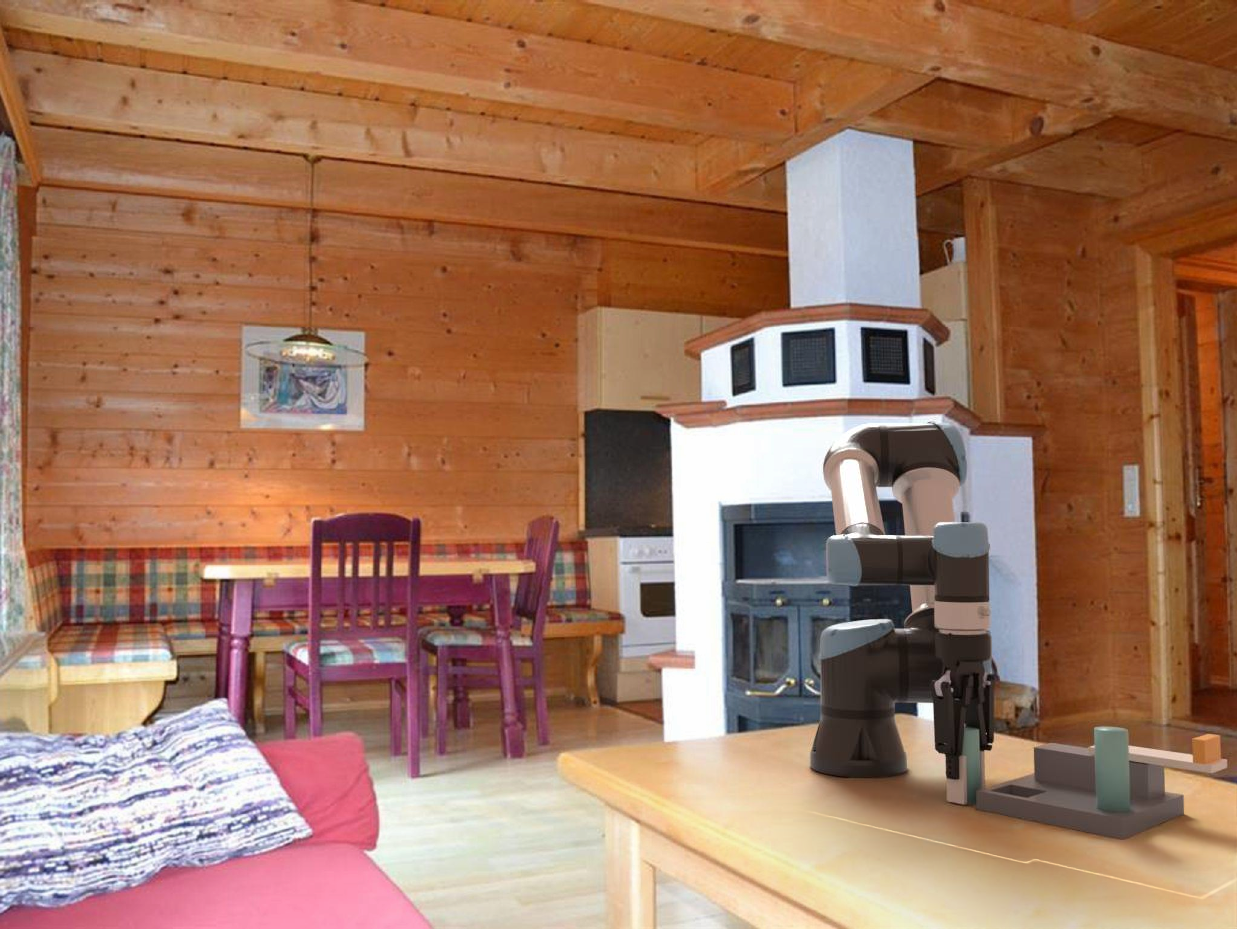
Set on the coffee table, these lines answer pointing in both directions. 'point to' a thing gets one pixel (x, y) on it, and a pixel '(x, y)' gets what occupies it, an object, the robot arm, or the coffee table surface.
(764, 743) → the coffee table surface
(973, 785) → the peg
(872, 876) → the coffee table surface
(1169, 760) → the lid
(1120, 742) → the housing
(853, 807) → the coffee table surface
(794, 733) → the coffee table surface
